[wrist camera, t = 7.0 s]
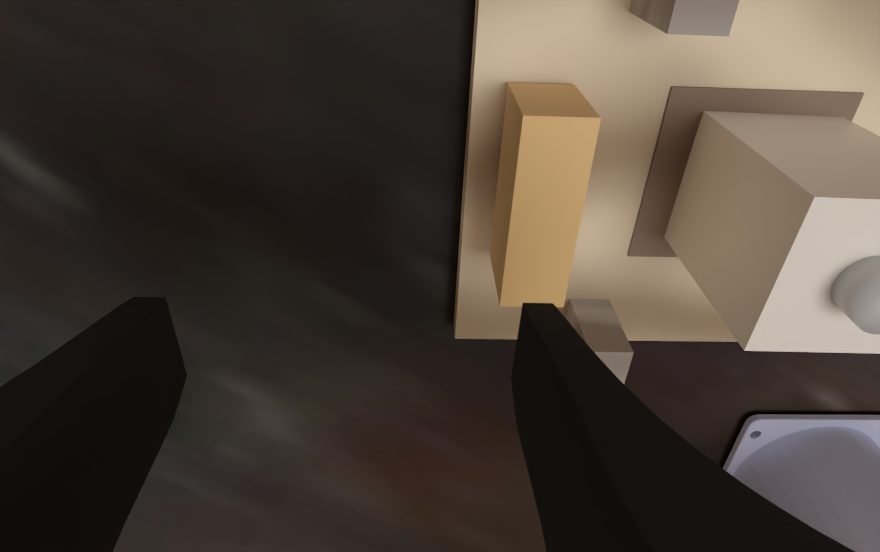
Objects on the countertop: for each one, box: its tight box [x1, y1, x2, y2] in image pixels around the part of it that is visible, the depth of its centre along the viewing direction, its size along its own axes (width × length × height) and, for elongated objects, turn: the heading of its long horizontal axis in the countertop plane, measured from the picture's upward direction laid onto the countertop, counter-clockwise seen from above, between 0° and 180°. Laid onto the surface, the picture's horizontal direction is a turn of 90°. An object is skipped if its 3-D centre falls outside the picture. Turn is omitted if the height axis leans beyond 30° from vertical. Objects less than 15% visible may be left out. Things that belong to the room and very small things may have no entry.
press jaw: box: [490, 82, 601, 307], centre depth 17 cm, size 6×2×3 cm, turn 178°
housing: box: [664, 111, 880, 354], centre depth 16 cm, size 4×4×7 cm
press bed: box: [454, 0, 880, 384], centre depth 18 cm, size 14×16×4 cm
